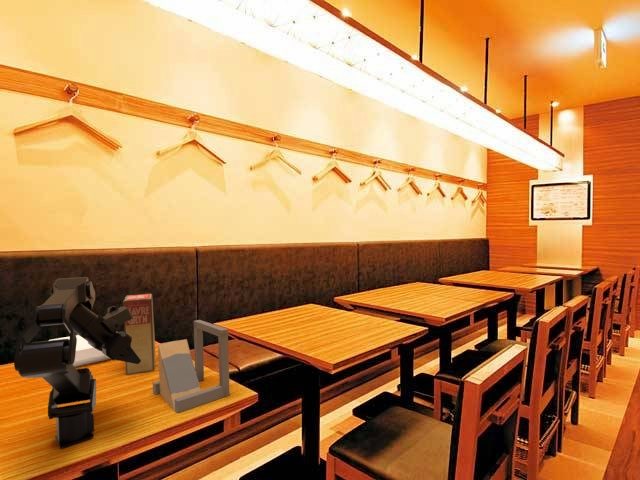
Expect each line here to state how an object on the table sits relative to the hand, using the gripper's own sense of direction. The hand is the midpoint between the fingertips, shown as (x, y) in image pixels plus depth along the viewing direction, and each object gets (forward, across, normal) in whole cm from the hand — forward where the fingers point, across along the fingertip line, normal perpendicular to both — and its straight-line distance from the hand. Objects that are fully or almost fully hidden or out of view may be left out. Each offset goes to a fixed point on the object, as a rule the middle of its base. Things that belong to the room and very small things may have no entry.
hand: (133, 359), depth 99 cm
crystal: (+9, +57, +8) cm, 58 cm away
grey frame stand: (+20, 0, -2) cm, 20 cm away
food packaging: (+18, +35, -1) cm, 39 cm away
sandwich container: (+19, 0, +1) cm, 19 cm away
